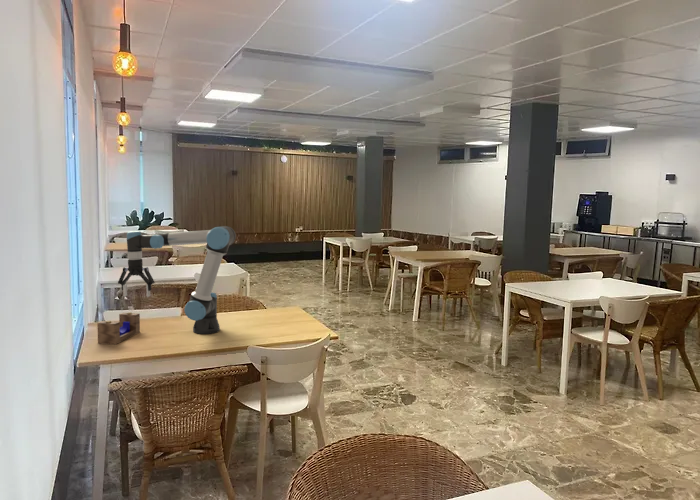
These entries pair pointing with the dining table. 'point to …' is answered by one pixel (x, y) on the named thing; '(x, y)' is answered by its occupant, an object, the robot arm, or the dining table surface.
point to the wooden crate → (118, 328)
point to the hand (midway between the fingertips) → (136, 296)
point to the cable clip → (125, 328)
